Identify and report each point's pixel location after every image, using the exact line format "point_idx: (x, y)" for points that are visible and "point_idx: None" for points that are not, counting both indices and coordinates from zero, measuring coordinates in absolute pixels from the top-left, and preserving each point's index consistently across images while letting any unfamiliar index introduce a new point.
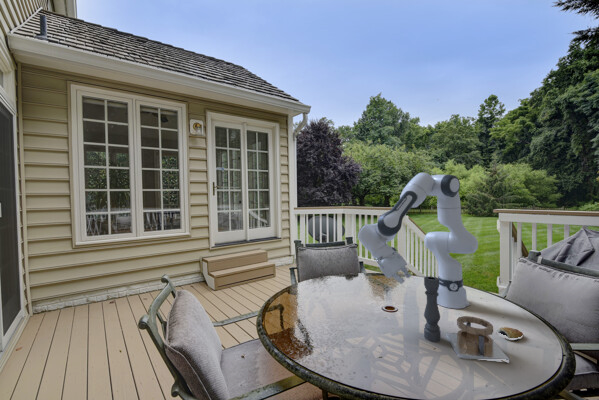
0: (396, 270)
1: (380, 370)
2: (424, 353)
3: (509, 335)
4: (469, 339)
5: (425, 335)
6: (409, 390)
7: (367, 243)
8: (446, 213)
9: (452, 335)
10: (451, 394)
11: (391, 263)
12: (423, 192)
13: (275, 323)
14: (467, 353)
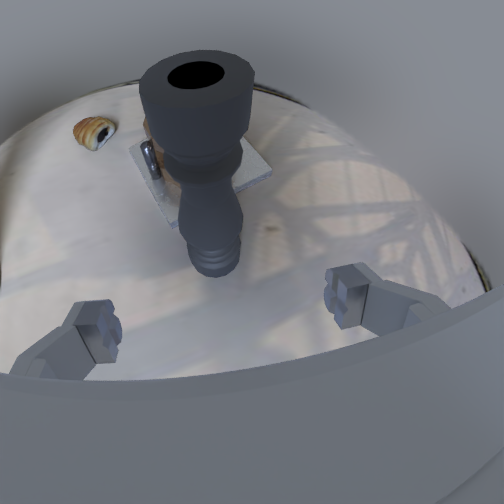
0: (459, 318)
1: (439, 281)
2: (316, 239)
3: (111, 122)
4: None
5: (234, 264)
6: (433, 218)
7: None
8: None
9: (178, 204)
10: (388, 167)
11: (497, 465)
12: None
13: None
14: (253, 157)
